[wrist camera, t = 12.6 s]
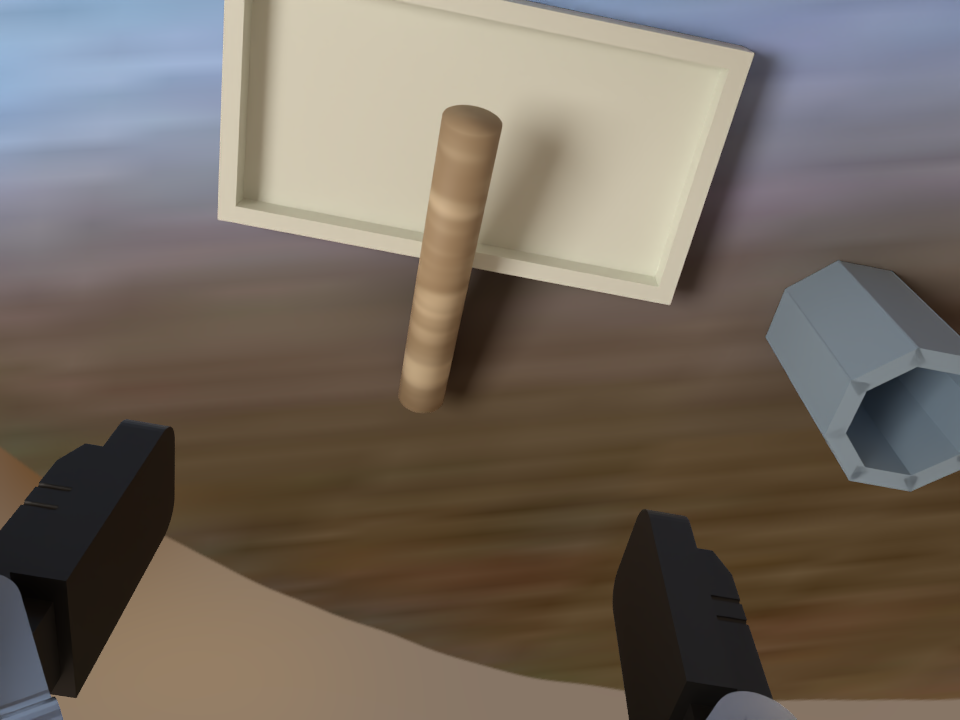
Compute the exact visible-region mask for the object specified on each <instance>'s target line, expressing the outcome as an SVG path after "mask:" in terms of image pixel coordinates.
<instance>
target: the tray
mask: <svg viewBox="0 0 960 720" xmlns="http://www.w3.org/2000/svg"><path fill="white" fill-rule="evenodd" d="M754 54H755V53H753V52H752V51H750V50H748V49H747V48H745V47H743V46H740V45H736V44H731V43H726V42H721V41H716V40H712V39H707V38H702V37H697V36H693V35H688V34H683V33H678V32H674V31H669V30H664V29H659V28H655V27H650V26H645V25H640V24H635V23H631V22H626V21H621V20H616V19H612V18H607V17H602V16H597V15H593V14H588V13H583V12H578V11H574V10H569V9H564V8H559V7H555V6H550V5H545V4H540V3H535V2H531V1H526V0H225V3H224V35H223V66H222V98H221V130H220V162H219V193H218V220H223V221H229V222H234V223H239V224H244V225H250V226H255V227H260V228H266V229H271V230H276V231H281V232H287V233H292V234H297V235H303V236H308V237H313V238H318V239H324V240H329V241H334V242H339V243H345V244H350V245H355V246H361V247H366V248H371V249H376V250H382V251H387V252H392V253H397V254H403V255H408V256H413V257H419V258H420V253H421V247H422V240H423V234H424V228H425V221H426V215H427V208H428V202H429V196H430V189H431V183H432V177H433V170H434V164H435V157H436V151H437V145H438V138H439V132H440V126H441V119H442V113H443V111H444V110H445V109H447V108H448V107H451V106H455V105H472V106H477V107H481V108H484V109H486V110H489V111H491V112H492V113H494V114H495V115H497V116H498V117H499V118H500V120H501V121H502V131H501V135H500V140H499V145H498V149H497V154H496V159H495V163H494V168H493V173H492V177H491V182H490V187H489V191H488V196H487V201H486V205H485V210H484V215H483V219H482V224H481V229H480V233H479V238H478V243H477V247H476V252H475V256H474V261H473V266H472V268H477V269H482V270H487V271H492V272H498V273H503V274H508V275H514V276H519V277H524V278H529V279H535V280H540V281H545V282H551V283H556V284H561V285H566V286H572V287H577V288H582V289H587V290H593V291H598V292H603V293H609V294H614V295H619V296H624V297H630V298H635V299H640V300H645V301H651V302H656V303H661V304H667V305H670V304H671V301H672V298H673V295H674V292H675V289H676V286H677V283H678V280H679V277H680V274H681V271H682V268H683V265H684V262H685V259H686V256H687V253H688V250H689V247H690V244H691V241H692V238H693V235H694V232H695V229H696V226H697V223H698V220H699V217H700V214H701V211H702V208H703V206H704V203H705V200H706V197H707V194H708V191H709V188H710V185H711V182H712V179H713V176H714V173H715V170H716V167H717V164H718V161H719V158H720V155H721V152H722V149H723V146H724V143H725V140H726V137H727V134H728V131H729V128H730V125H731V122H732V119H733V116H734V113H735V110H736V107H737V104H738V101H739V98H740V95H741V92H742V89H743V86H744V83H745V80H746V77H747V74H748V71H749V68H750V65H751V62H752V59H753V56H754Z"/></svg>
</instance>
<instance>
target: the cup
mask: <svg viewBox="0 0 960 720" xmlns="http://www.w3.org/2000/svg"><path fill="white" fill-rule="evenodd" d="M766 339H767V341H768V342H769V344H770V346H771V347H772V349H773V351H774V353H775V354H776V356H777V358H778V359H779V361H780V363H781V365H782V366H783V368H784V370H785V371H786V373H787V375H788V377H789V379H790V380H791V382H792V384H793V386H794V387H795V389H796V391H797V392H798V394H799V396H800V398H801V399H802V401H803V403H804V404H805V406H806V408H807V409H808V411H809V413H810V415H811V416H812V418H813V420H814V421H815V423H816V425H817V427H818V428H819V430H820V432H821V433H822V435H823V437H824V438H825V440H826V442H827V444H828V445H829V447H830V449H831V450H832V452H833V454H834V456H835V457H836V459H837V461H838V462H839V464H840V466H841V467H842V469H843V471H844V473H845V474H846V476H847V478H848V479H849V481H855V482H860V483H866V484H872V485H877V486H883V487H888V488H894V489H900V490H905V491H909V492H910V491H913V490H915V489H917V488H920V487H922V486H924V485H926V484H929V483H931V482H933V481H936V480H938V479H940V478H942V477H945V476H947V475H949V474H952V473H954V472H956V471H958V470H960V336H959V335H958V334H957V333H956V332H955V331H954V330H953V329H952V328H951V327H950V326H949V325H948V324H947V323H946V322H945V321H944V320H943V319H942V318H941V317H939V316H938V315H937V314H936V313H935V312H934V311H933V310H932V309H931V308H930V307H929V306H928V305H927V304H926V303H925V302H924V301H923V300H922V299H921V298H920V297H919V296H918V295H917V294H915V293H914V292H913V291H912V290H911V289H910V288H909V287H908V286H907V285H906V284H905V283H904V282H903V281H902V280H901V279H900V278H899V277H898V276H897V275H896V274H895V273H894V272H893V271H889V270H884V269H879V268H873V267H868V266H863V265H858V264H853V263H848V262H843V261H839V260H837V261H836V262H834V263H833V264H831V265H829V266H827V267H825V268H823V269H821V270H820V271H818V272H816V273H814V274H812V275H810V276H808V277H807V278H805V279H803V280H801V281H799V282H797V283H795V284H794V285H792V286H790V287H788V288H786V289H785V291H784V293H783V296H782V298H781V301H780V303H779V306H778V308H777V311H776V313H775V315H774V318H773V320H772V323H771V325H770V328H769V330H768V333H767V335H766Z"/></svg>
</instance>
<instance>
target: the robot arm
mask: <svg viewBox="0 0 960 720" xmlns="http://www.w3.org/2000/svg"><path fill="white" fill-rule="evenodd" d="M174 480H175V436H174V431H173V428H172V427H169V426H163V425H157V424H151V423H145V422H140V421H134V420H128V419H126V420H124V421H122V422H121V424H120V425H119V426H118V427H117V429H116V430H115V431H114V433H113V434H112V435H111V437H110V438H109V439H108V441H107V442H106V443H105V445H104V446H103V447H102V446H96V445H90V444H84V445H82V446H80V447H79V448H77V449H75V450H74V451H72V452H70V453H69V454H67V455H65V456H64V457H62V458H60V459H59V460H57V461H56V462H55V464H54V465H53V466H52V467H51V468H50V470H49V471H48V472H47V473H46V475H45V476H44V477H43V478H42V480H41V481H40V482H39V486H38V487H35V488H34V490H33V491H32V492H31V493H30V494H29V496H28V497H27V498H26V499H25V502H24V505H20V507H19V508H18V509H17V510H16V512H15V513H14V514H13V515H12V517H11V518H10V519H9V520H8V521H7V523H6V524H5V525H4V526H3V528H2V529H1V530H0V720H63V717H62V714H61V711H60V707H59V705H58V702H57V700H56V698H55V697H52V698H51V696H50V694H53V695H59V696H67V697H73V698H77V695H78V694H79V692H80V690H81V688H82V686H83V685H84V683H85V681H86V679H87V677H88V675H89V674H90V672H91V670H92V668H93V666H94V664H95V663H96V661H97V659H98V657H99V655H100V653H101V651H102V650H103V648H104V646H105V644H106V642H107V641H108V639H109V637H110V635H111V633H112V631H113V630H114V628H115V626H116V624H117V622H118V620H119V619H120V617H121V615H122V613H123V611H124V609H125V608H126V606H127V604H128V602H129V600H130V598H131V597H132V595H133V593H134V591H135V589H136V587H137V585H138V583H139V582H140V580H141V578H142V576H143V575H144V573H145V571H146V569H147V567H148V565H149V564H150V562H151V560H152V558H153V556H154V554H155V552H156V551H157V549H158V547H159V545H160V543H161V541H162V540H163V538H164V536H165V534H166V531H167V529H168V526H169V523H170V520H171V516H172V512H173V506H174ZM739 601H740V598H739V595H738V592H737V589H736V586H735V583H734V580H733V577H732V575H731V573H730V572H729V571H728V569H727V568H726V567H725V566H724V564H723V563H722V562H721V561H720V559H719V558H718V557H717V556H716V554H715V553H714V552H713V551H710V550H704V549H698V548H697V546H696V543H695V540H694V536H693V533H692V529H691V526H690V523H689V520H688V518H687V517H686V516H681V515H675V514H669V513H663V512H658V511H652V510H646V509H644V510H642V511H641V512H640V513H639V515H638V517H637V520H636V523H635V525H634V528H633V531H632V533H631V536H630V539H629V541H628V544H627V547H626V550H625V552H624V555H623V558H622V560H621V563H620V566H619V569H618V571H617V574H616V578H615V583H614V590H613V613H614V620H615V627H616V633H617V640H618V647H619V654H620V661H621V668H622V674H623V681H624V688H625V694H626V701H627V709H628V715H629V720H797V719H796V718H795V716H794V715H792V714H791V713H790V712H789V711H788V710H787V709H786V708H784V707H783V706H782V705H780V704H779V703H777V702H776V701H774V700H773V698H772V695H771V692H770V689H769V686H768V683H767V680H766V677H765V674H764V671H763V668H762V665H761V662H760V659H759V656H758V653H757V650H756V647H755V644H754V641H753V638H752V635H751V632H750V629H749V626H748V625H746V617H745V614H744V611H743V608H742V605H741V604H739Z"/></svg>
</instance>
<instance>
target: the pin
mask: <svg viewBox="0 0 960 720" xmlns="http://www.w3.org/2000/svg"><path fill="white" fill-rule="evenodd" d="M501 131H502V121H501V120H500V118H499V117H498V116H497V115H495V114H494V113H492V112H491V111H489V110H486V109H484V108H481V107H477V106H472V105H455V106H451V107H448V108H447V109H445V110H444V111H443V113H442V119H441V126H440V132H439V138H438V145H437V151H436V157H435V164H434V170H433V177H432V183H431V189H430V196H429V202H428V208H427V215H426V221H425V228H424V234H423V240H422V247H421V253H420V260H419V266H418V272H417V279H416V285H415V291H414V298H413V304H412V311H411V317H410V323H409V330H408V336H407V342H406V349H405V355H404V362H403V368H402V374H401V381H400V387H399V400H400V402H401V403H402V404H403V405H404V406H405V407H406V408H407V409H409V410H411V411H414V412H417V413H430V412H433V411H435V410H437V409H439V408H440V407H441V405H442V404H443V401H444V396H445V392H446V387H447V382H448V378H449V373H450V368H451V364H452V359H453V354H454V350H455V345H456V340H457V336H458V331H459V326H460V322H461V317H462V312H463V308H464V303H465V298H466V294H467V289H468V284H469V280H470V275H471V270H472V266H473V261H474V256H475V252H476V247H477V243H478V238H479V233H480V229H481V224H482V219H483V215H484V210H485V205H486V201H487V196H488V191H489V187H490V182H491V177H492V173H493V168H494V163H495V159H496V154H497V149H498V145H499V140H500V135H501Z"/></svg>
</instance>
